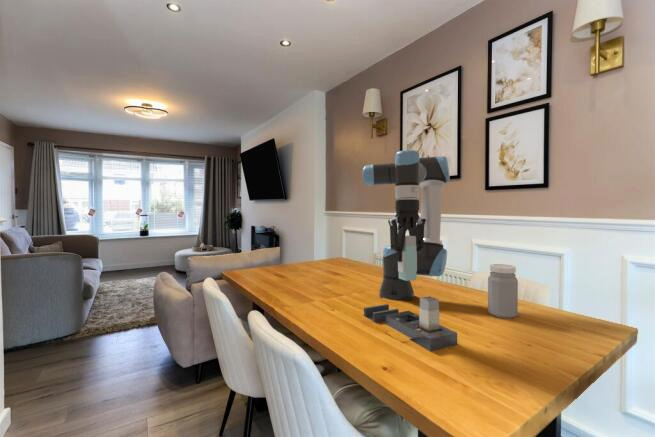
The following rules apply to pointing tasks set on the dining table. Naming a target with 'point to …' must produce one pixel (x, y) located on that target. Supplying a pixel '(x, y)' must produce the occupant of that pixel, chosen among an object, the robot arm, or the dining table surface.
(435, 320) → the port block
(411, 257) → the plug
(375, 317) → the holster
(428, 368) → the dining table surface
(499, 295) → the jar
